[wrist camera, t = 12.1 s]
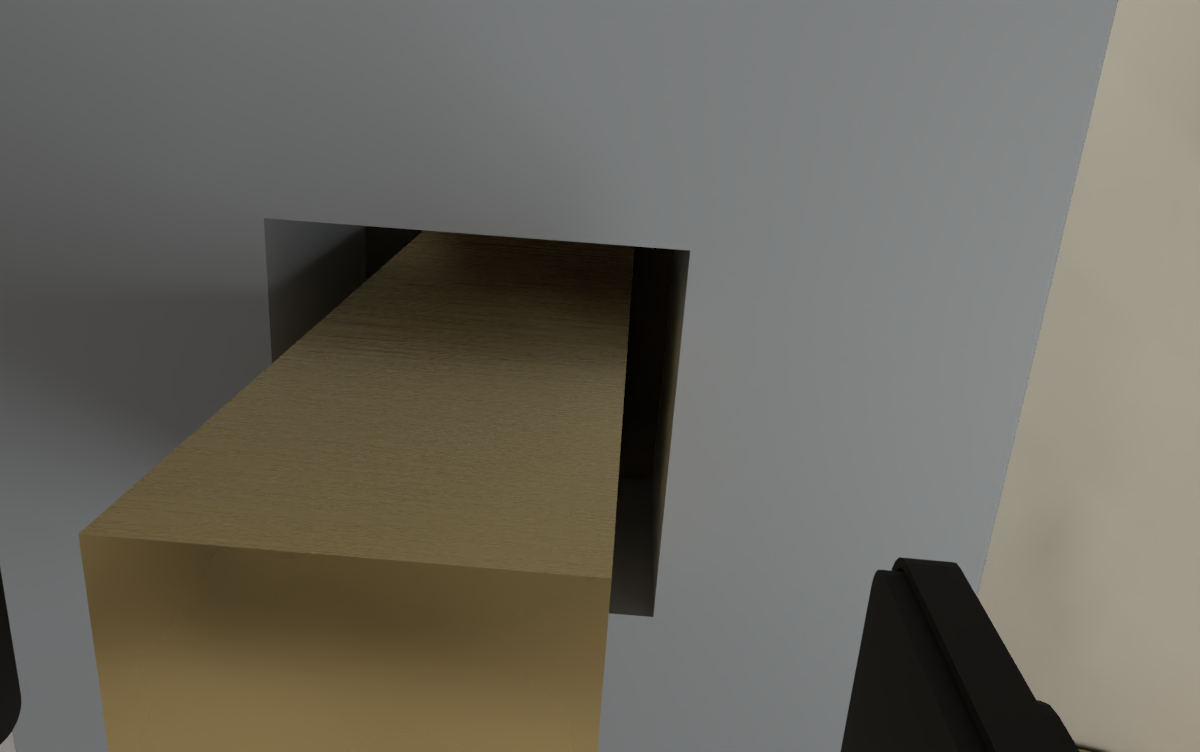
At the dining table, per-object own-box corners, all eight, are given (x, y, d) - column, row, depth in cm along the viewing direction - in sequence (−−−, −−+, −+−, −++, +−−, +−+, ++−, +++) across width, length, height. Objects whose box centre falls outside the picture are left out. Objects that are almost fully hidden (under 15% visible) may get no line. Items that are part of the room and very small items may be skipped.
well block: (1002, -82, 16) (1148, -128, 11) (853, 695, 22) (910, 880, 17) (71, -144, 16) (-159, -215, 12) (158, 635, 22) (24, 799, 17)
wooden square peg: (634, 241, 18) (612, 579, 7) (619, 431, 20) (579, 969, 8) (428, 226, 18) (78, 533, 7) (427, 416, 20) (132, 928, 8)
